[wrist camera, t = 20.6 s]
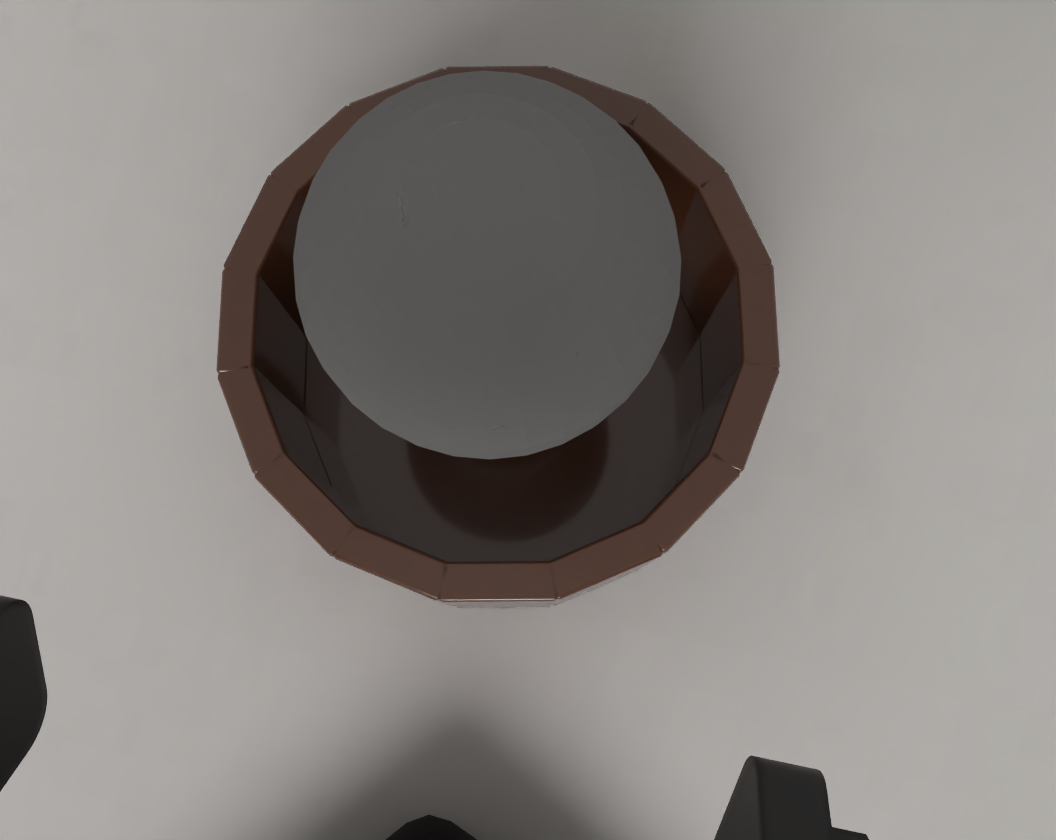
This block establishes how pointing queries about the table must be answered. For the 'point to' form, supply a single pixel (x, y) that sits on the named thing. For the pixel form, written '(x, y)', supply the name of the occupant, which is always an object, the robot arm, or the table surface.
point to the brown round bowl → (524, 481)
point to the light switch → (430, 830)
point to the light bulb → (486, 265)
